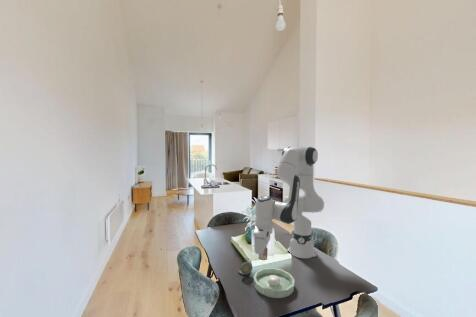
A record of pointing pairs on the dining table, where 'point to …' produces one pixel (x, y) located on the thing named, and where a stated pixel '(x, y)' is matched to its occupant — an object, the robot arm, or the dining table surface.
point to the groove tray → (274, 290)
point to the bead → (264, 255)
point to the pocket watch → (245, 268)
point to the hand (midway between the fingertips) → (262, 255)
